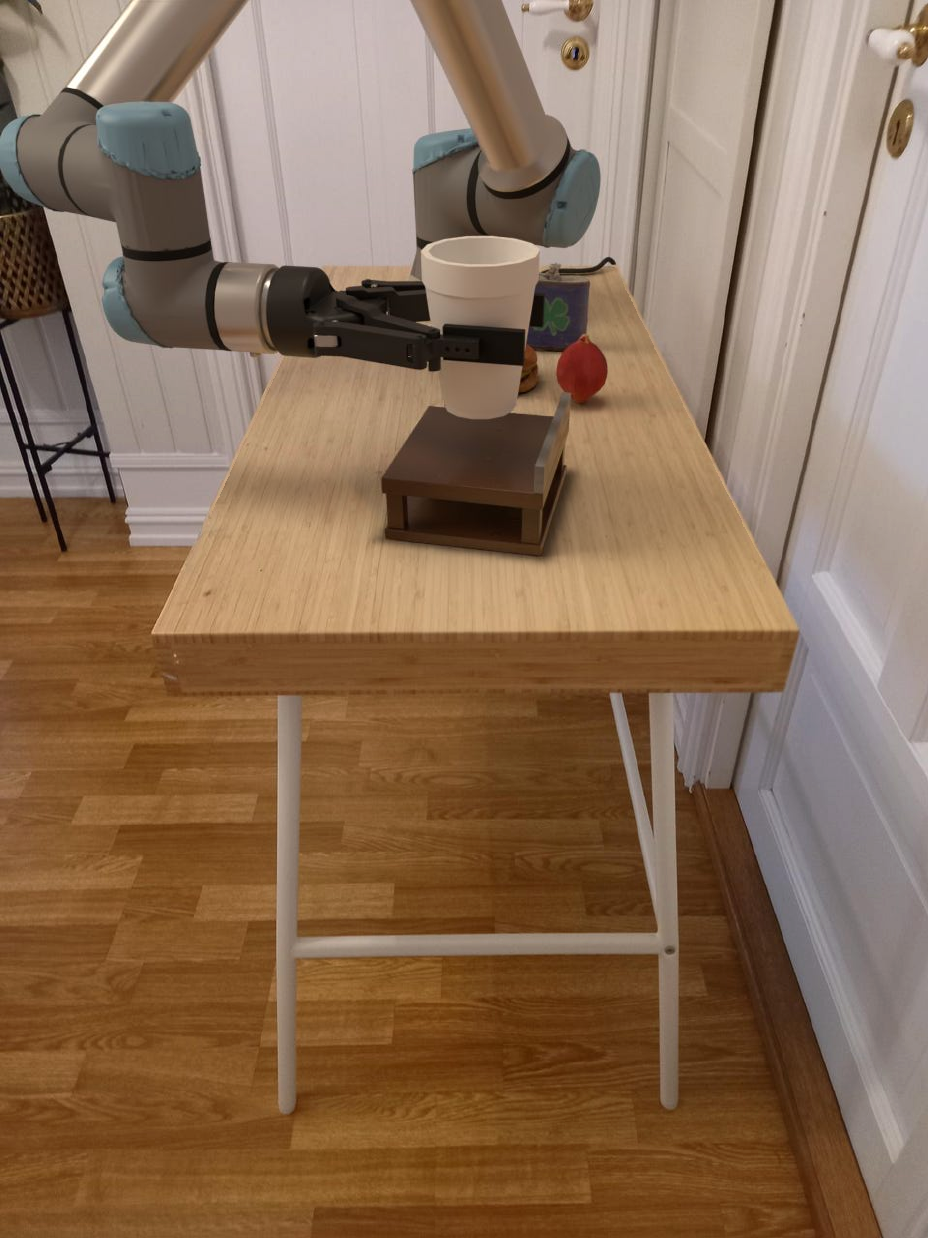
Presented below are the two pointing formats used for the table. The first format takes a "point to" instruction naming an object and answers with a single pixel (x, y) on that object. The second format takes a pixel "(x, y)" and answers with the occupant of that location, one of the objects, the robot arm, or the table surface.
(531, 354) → the burger
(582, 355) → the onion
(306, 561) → the table surface
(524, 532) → the shelf
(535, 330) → the flask
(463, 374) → the foam cup
